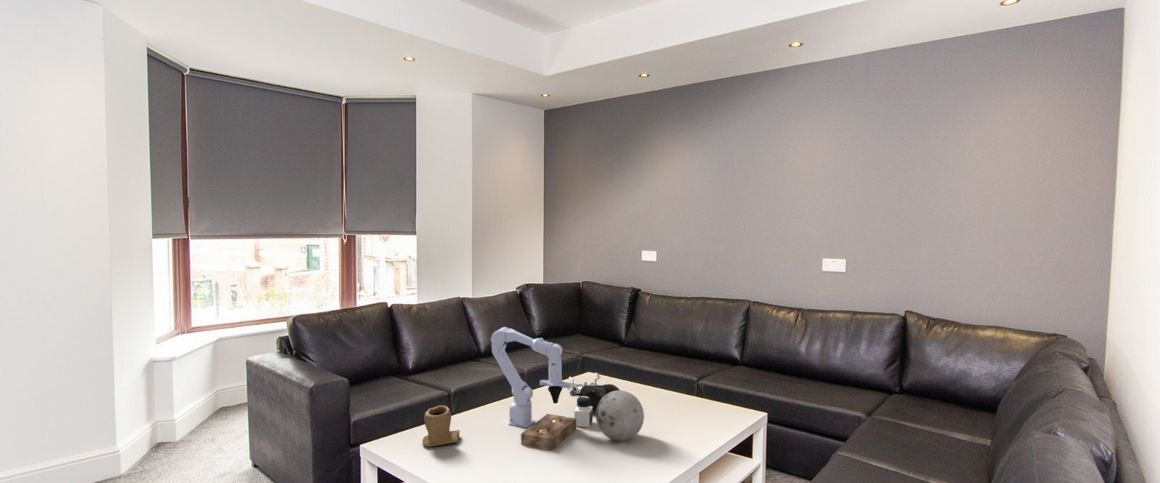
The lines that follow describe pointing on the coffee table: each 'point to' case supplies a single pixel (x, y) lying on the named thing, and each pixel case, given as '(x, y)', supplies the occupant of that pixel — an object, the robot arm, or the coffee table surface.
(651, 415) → the coffee table surface
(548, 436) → the socket block
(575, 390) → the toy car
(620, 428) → the moon model
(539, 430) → the peg near
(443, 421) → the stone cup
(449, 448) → the coffee table surface
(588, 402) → the medicine bottle
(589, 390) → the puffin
